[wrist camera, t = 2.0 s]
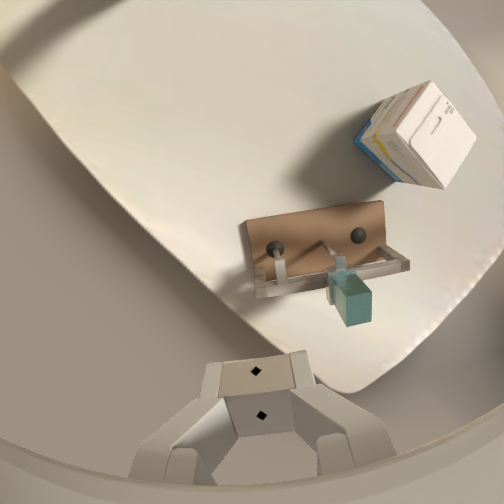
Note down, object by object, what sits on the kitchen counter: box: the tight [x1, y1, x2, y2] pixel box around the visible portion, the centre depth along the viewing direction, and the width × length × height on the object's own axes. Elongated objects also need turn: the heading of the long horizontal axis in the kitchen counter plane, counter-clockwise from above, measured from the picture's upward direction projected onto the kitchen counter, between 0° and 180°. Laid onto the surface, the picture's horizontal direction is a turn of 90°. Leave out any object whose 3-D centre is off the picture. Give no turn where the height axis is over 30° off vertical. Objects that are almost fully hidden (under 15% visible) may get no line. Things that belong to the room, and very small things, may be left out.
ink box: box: [354, 80, 476, 190], centre depth 28 cm, size 9×8×12 cm
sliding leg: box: [320, 240, 372, 327], centre depth 30 cm, size 5×3×13 cm, turn 10°
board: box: [246, 200, 410, 299], centre depth 33 cm, size 8×18×8 cm, turn 100°
